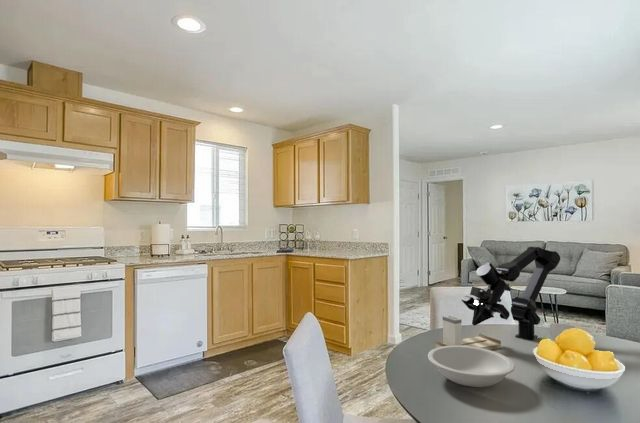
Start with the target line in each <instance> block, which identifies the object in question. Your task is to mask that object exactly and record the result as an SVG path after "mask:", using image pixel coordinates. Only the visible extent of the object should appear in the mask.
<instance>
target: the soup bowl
mask: <svg viewBox="0 0 640 423" xmlns="http://www.w3.org/2000/svg"><path fill="white" fill-rule="evenodd" d="M427 353H428V354H427V358H428V361H429V362H430V363H431V364H433V365H434V366H435V367H436V369H437V370H438V371H439V373H440V374H441V375H443V377H445V378H446V379H448V380H449V381H452V382H454V383H456V384H458V385H461V386H465V387H466V386H467V387H471V388H485V387H491V386H493V385H496V384H498V383H500V382H501V381H503V380H504V379H505V378H506V376H507V375H509V374H511V373H512V372H514V371H515V368H516V365H515V363H514V361H513V360H512V359H511V358H509V357H508V356H506V355H504V354H502V353H499V352H497V351H493V350H487V349H483V348H477V347H471V346H443V347H438V348H436V347H435V348H433V349H431V350H430V351H429V352H427Z"/></svg>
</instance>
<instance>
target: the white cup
mask: <svg viewBox="0 0 640 423" xmlns="http://www.w3.org/2000/svg"><path fill="white" fill-rule="evenodd" d="M569 328H576V329H577V327H576V326H575V325H572V324H567V323H560V322H558V323H557V322H556V323H555V322H554V323H550V324H549V330H550V332H549V333H550V341H551V340H553V341H554V340H555V338H556V337H557V336H558V335H559V334H560V333H562V331H563V330H565V329H569Z"/></svg>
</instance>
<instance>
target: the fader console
mask: <svg viewBox="0 0 640 423" xmlns="http://www.w3.org/2000/svg"><path fill="white" fill-rule="evenodd" d="M443 346H448V345H446V344H443V342H441V341H439V340H435V348H438V347H443ZM461 346H471V347H477V348H483V349H487V350H491V351H493V350H496V349H501V348H502V341H501V340H498V339H497V338H493V337H491V336H488V335H486V334H482V333H478V336H475V337H473V336H472V337H469V338H468V337H467V338H461Z"/></svg>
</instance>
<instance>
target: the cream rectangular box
mask: <svg viewBox="0 0 640 423" xmlns="http://www.w3.org/2000/svg"><path fill="white" fill-rule="evenodd" d="M462 323H463V322H462V319H461V318H458V317H455V316H451V315H443V316H442V341H443V342H442V343H443V344H446V345H448V346H461V339H462Z"/></svg>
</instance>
